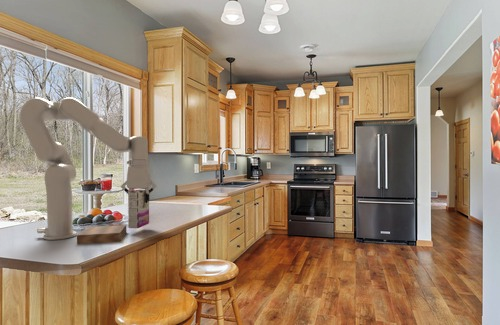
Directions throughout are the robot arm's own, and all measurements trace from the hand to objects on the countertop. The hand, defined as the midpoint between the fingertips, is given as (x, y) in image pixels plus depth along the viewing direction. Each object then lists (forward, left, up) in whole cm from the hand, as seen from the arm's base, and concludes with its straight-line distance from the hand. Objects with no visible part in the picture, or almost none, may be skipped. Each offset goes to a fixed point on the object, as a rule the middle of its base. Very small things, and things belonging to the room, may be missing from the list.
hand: (138, 202), depth 152 cm
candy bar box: (0, 0, -11) cm, 11 cm away
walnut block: (-14, -9, -14) cm, 21 cm away
